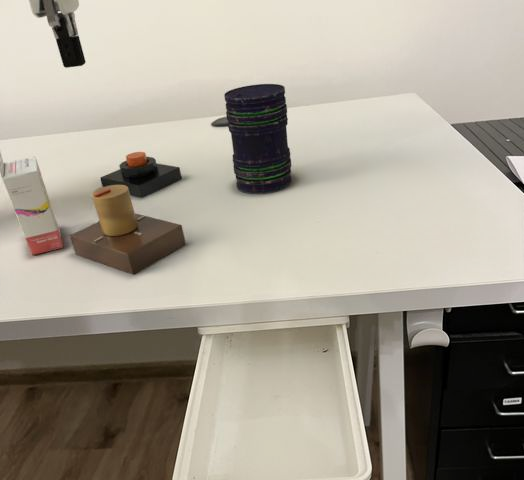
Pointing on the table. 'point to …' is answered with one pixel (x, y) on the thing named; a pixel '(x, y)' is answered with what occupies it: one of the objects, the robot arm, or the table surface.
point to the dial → (115, 210)
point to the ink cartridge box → (31, 204)
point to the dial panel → (129, 244)
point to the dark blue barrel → (259, 137)
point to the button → (136, 159)
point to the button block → (143, 177)
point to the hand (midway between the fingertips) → (75, 65)
